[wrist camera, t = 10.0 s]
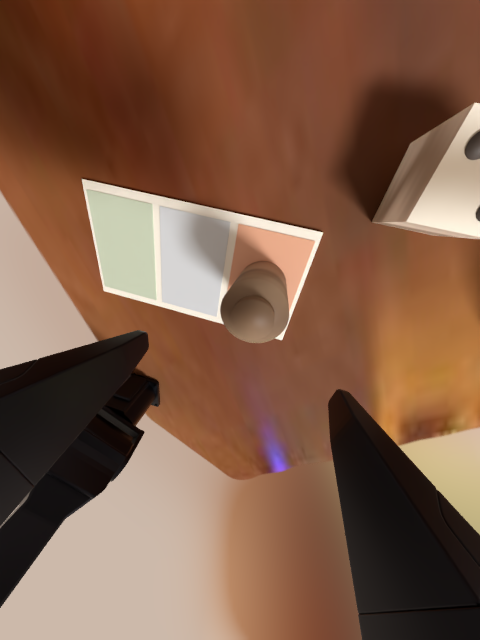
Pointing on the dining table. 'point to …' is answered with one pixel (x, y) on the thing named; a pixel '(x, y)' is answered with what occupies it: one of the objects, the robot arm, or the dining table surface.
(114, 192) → the game board
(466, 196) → the cream box
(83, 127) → the dining table surface
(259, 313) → the walnut pawn
